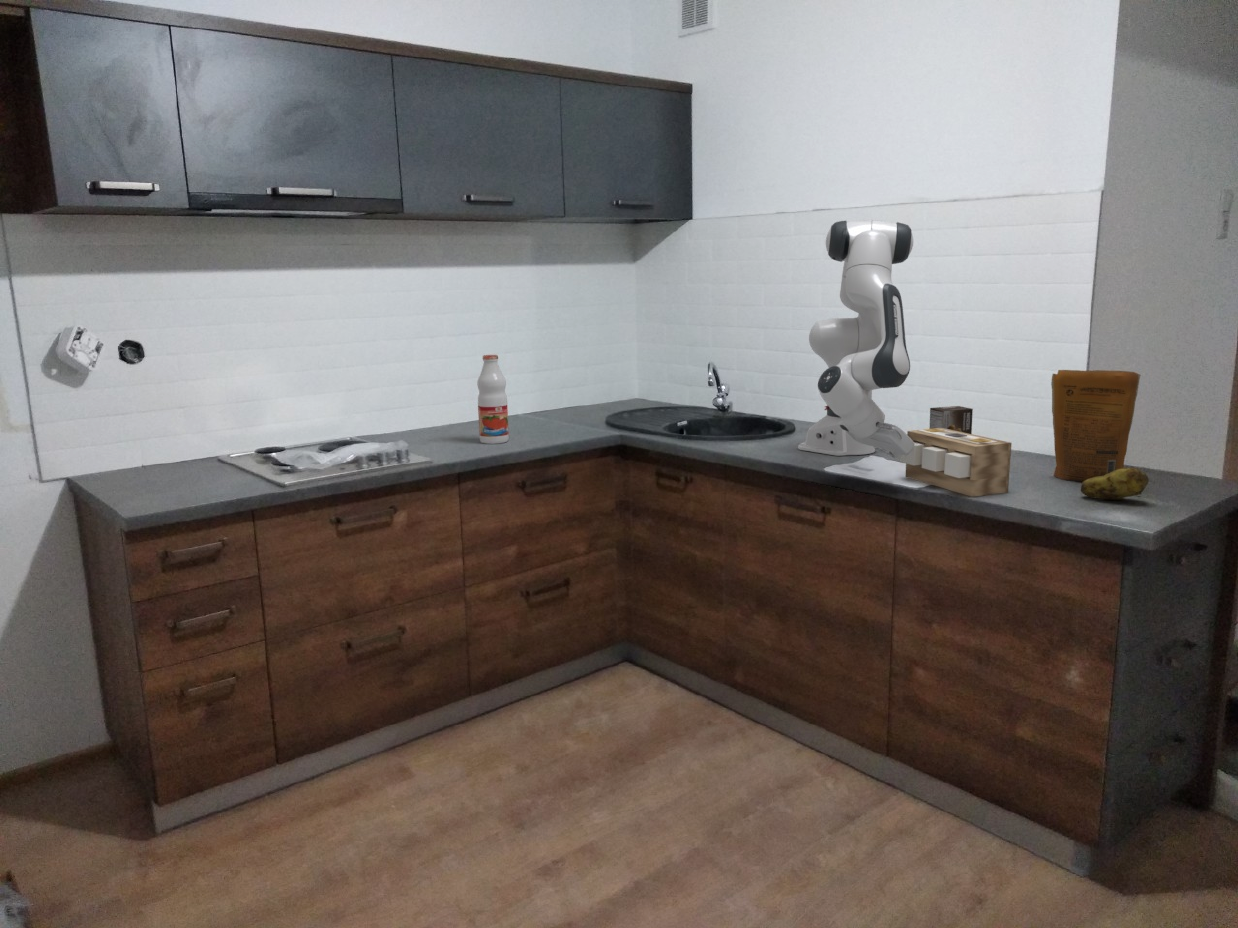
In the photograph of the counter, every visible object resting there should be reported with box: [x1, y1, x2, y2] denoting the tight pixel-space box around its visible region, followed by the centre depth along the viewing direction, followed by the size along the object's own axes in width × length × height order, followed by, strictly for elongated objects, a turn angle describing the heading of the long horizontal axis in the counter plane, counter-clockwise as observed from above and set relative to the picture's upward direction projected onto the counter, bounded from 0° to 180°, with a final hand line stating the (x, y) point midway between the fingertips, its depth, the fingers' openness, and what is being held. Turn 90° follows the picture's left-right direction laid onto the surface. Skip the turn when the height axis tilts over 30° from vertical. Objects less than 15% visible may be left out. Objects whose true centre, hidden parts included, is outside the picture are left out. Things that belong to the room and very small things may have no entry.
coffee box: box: [928, 405, 974, 434], centre depth 246 cm, size 9×6×16 cm
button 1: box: [899, 441, 925, 465], centre depth 232 cm, size 9×5×5 cm, turn 112°
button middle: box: [922, 446, 948, 472], centre depth 224 cm, size 9×5×5 cm, turn 112°
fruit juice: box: [476, 354, 510, 445], centre depth 294 cm, size 9×9×28 cm
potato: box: [1080, 467, 1149, 500], centre depth 208 cm, size 8×13×8 cm, turn 37°
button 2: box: [944, 452, 972, 478], centre depth 217 cm, size 9×5×5 cm, turn 112°
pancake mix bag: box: [1050, 369, 1141, 483], centre depth 224 cm, size 7×19×28 cm, turn 47°
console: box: [904, 428, 1013, 498], centre depth 226 cm, size 11×24×12 cm, turn 22°
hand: (896, 455), depth 229 cm, fingers closed
